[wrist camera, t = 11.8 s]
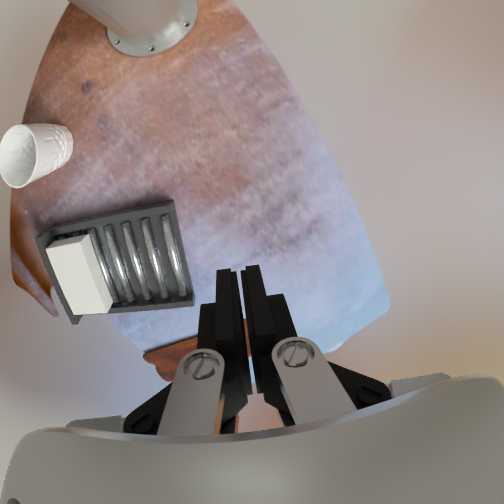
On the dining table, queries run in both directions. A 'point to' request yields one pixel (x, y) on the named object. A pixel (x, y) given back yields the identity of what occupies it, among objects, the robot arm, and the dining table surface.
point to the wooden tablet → (176, 355)
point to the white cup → (33, 152)
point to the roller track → (131, 257)
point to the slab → (80, 275)
